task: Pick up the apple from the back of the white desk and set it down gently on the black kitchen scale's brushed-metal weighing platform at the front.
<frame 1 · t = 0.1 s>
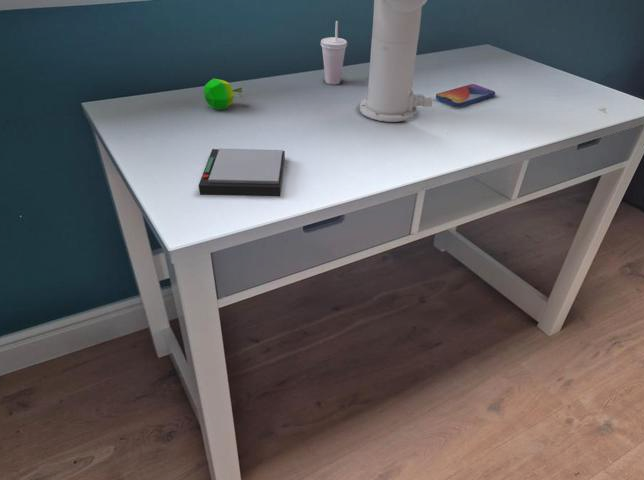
scale: (245, 176, 86), on the table
apple: (225, 107, 110), on the table
smoothie: (332, 82, 125), on the table
smartphone: (465, 98, 121), on the table
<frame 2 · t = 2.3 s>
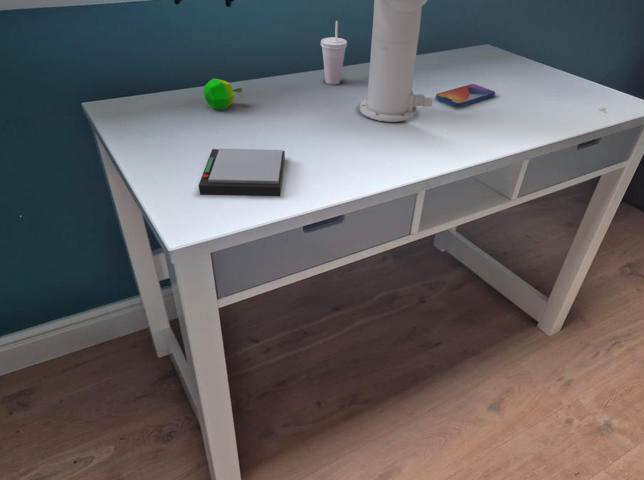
hand: (203, 4, 97), 20 cm above the table, tool pointing down, fingers open, 9 cm apart
nothing on the table moved.
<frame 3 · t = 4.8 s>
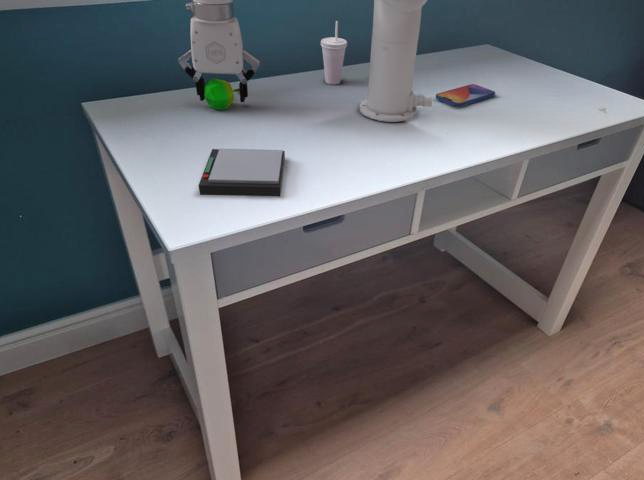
hand: (223, 99, 109), 2 cm above the table, tool pointing down, fingers closed on apple, 8 cm apart
apple: (225, 107, 110), on the table, touching gripper
everything else where it was.
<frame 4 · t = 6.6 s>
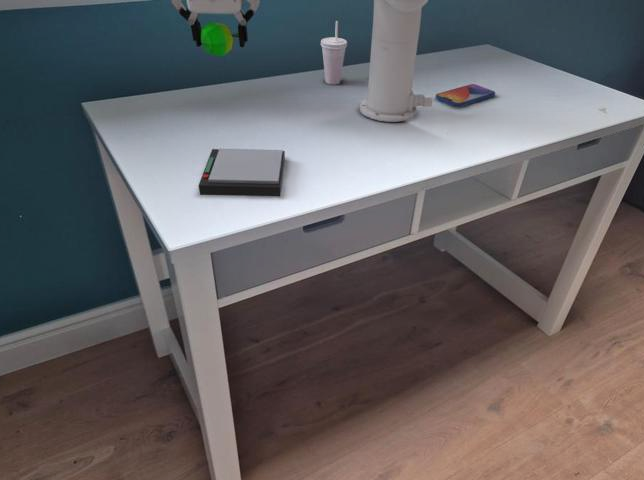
hand: (221, 44, 101), 13 cm above the table, tool pointing down, fingers closed on apple, 8 cm apart
apple: (224, 54, 102), point 11 cm above the table, touching gripper
everything else where it was.
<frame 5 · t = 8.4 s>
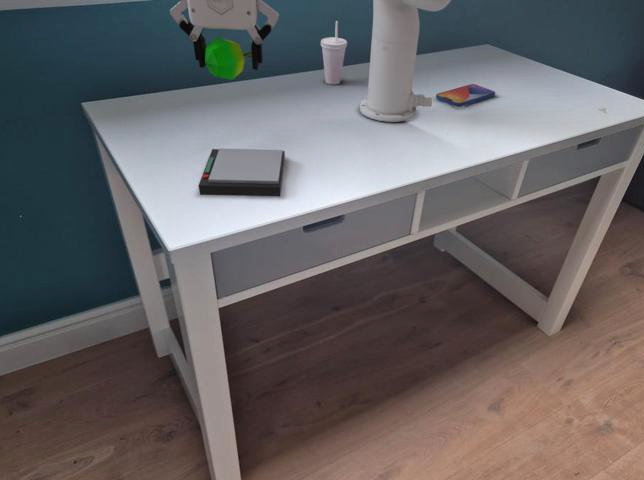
hand: (230, 65, 82), 16 cm above the table, tool pointing down, fingers closed on apple, 8 cm apart
apple: (233, 77, 83), point 14 cm above the table, touching gripper
everything else where it was.
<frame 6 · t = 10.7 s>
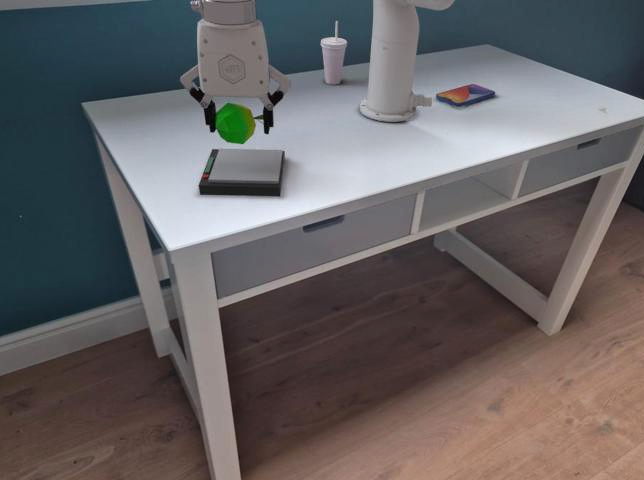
hand: (240, 129, 81), 9 cm above the table, tool pointing down, fingers closed on apple, 8 cm apart
apple: (243, 140, 82), point 7 cm above the table, touching gripper
everything else where it was.
when the fingers open (4 cm above the table, at t = 12.5 s): apple stays where it is, resting on scale.
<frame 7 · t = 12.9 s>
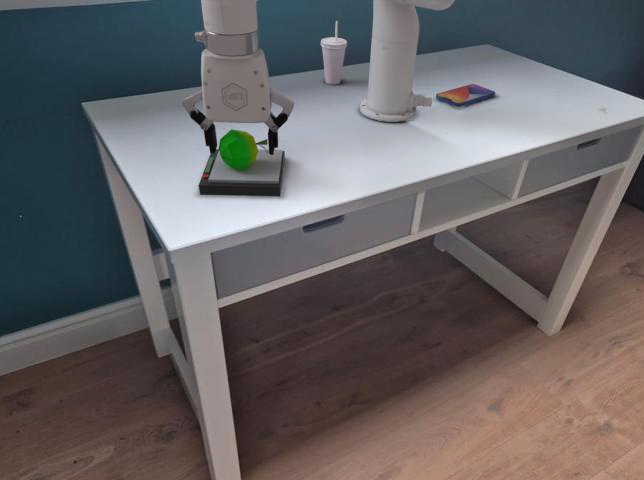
hand: (243, 150, 83), 5 cm above the table, tool pointing down, fingers open, 9 cm apart
apple: (246, 164, 85), point 2 cm above the table, touching scale
everything else where it was.
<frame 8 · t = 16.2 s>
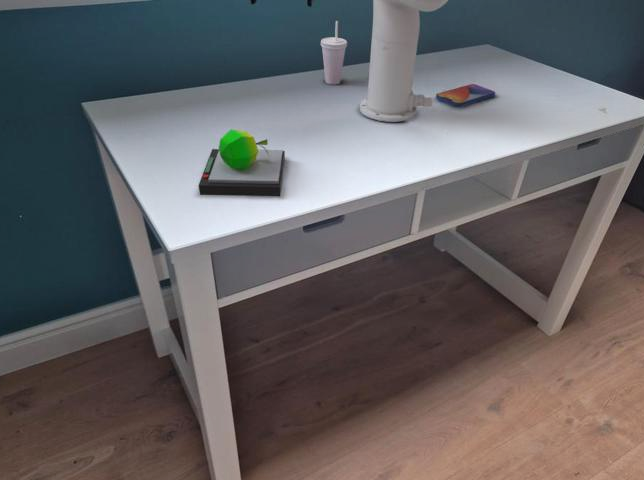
hand: (281, 3, 86), 23 cm above the table, tool pointing down, fingers open, 9 cm apart
nothing on the table moved.
at the end: apple inside the target area on the scale (0.3 cm from its centre), point 2.2 cm above the scale's base; apple touching scale; the gripper is holding nothing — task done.
